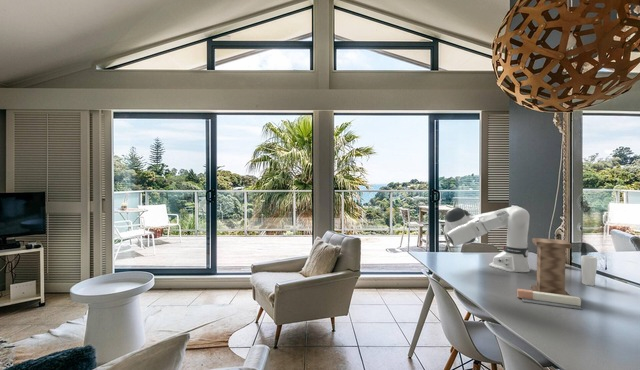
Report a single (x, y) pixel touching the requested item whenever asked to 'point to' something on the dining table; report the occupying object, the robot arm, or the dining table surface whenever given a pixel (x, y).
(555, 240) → the walnut stand
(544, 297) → the white stick tan end
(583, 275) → the drinking glass
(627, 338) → the dining table surface
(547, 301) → the mat
